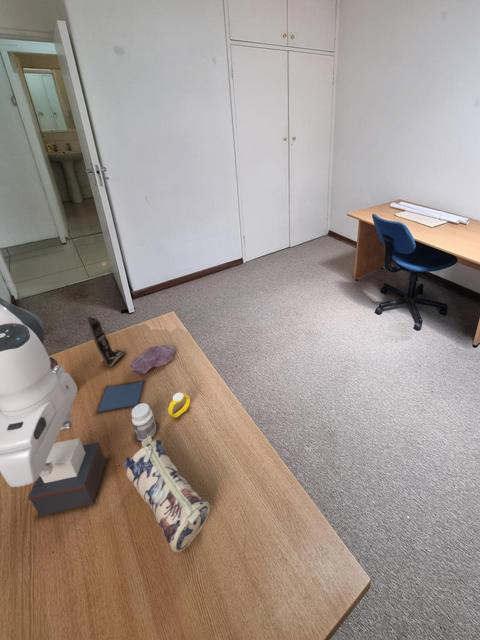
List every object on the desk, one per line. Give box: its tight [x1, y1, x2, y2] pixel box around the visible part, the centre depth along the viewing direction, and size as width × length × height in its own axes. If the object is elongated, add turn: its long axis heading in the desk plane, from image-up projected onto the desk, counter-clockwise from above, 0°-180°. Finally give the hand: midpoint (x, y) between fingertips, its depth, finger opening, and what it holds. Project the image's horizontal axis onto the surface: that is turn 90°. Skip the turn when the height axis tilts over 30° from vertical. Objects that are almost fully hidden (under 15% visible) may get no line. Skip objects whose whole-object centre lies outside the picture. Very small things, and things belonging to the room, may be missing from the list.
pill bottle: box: [131, 402, 157, 442], centre depth 82 cm, size 5×5×8 cm
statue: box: [87, 316, 126, 368], centre depth 101 cm, size 4×7×20 cm, turn 167°
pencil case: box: [123, 436, 211, 553], centre depth 67 cm, size 22×8×10 cm, turn 49°
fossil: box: [130, 344, 176, 375], centre depth 103 cm, size 8×14×5 cm, turn 141°
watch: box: [167, 392, 191, 419], centre depth 88 cm, size 6×3×6 cm, turn 144°
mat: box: [97, 381, 144, 413], centre depth 93 cm, size 10×8×1 cm
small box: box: [41, 437, 86, 483], centre depth 68 cm, size 6×5×5 cm
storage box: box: [27, 441, 107, 517], centre depth 71 cm, size 10×9×7 cm
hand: (58, 448), depth 67 cm, fingers open, 8 cm apart
